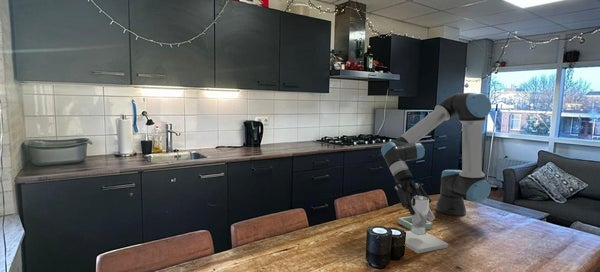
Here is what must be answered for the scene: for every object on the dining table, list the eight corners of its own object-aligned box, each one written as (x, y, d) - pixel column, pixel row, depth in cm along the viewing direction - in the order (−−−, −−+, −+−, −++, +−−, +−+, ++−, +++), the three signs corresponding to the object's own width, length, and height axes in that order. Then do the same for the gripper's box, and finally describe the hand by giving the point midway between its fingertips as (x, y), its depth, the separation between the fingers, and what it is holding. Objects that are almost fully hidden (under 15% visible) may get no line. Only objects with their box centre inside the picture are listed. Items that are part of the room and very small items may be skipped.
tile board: (419, 232, 145) (419, 229, 144) (447, 247, 130) (448, 243, 130) (390, 237, 138) (391, 233, 138) (417, 253, 124) (418, 249, 124)
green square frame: (415, 220, 160) (415, 215, 160) (432, 228, 150) (432, 223, 149) (397, 222, 155) (398, 218, 155) (414, 231, 145) (414, 226, 145)
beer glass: (424, 237, 129) (426, 201, 127) (407, 232, 133) (409, 198, 131) (429, 232, 134) (431, 197, 133) (412, 227, 139) (414, 194, 137)
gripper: (413, 176, 150) (438, 221, 136) (379, 179, 142) (402, 227, 129) (422, 167, 144) (449, 214, 131) (387, 169, 136) (412, 219, 123)
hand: (425, 220), depth 130 cm, fingers closed on beer glass, 7 cm apart
